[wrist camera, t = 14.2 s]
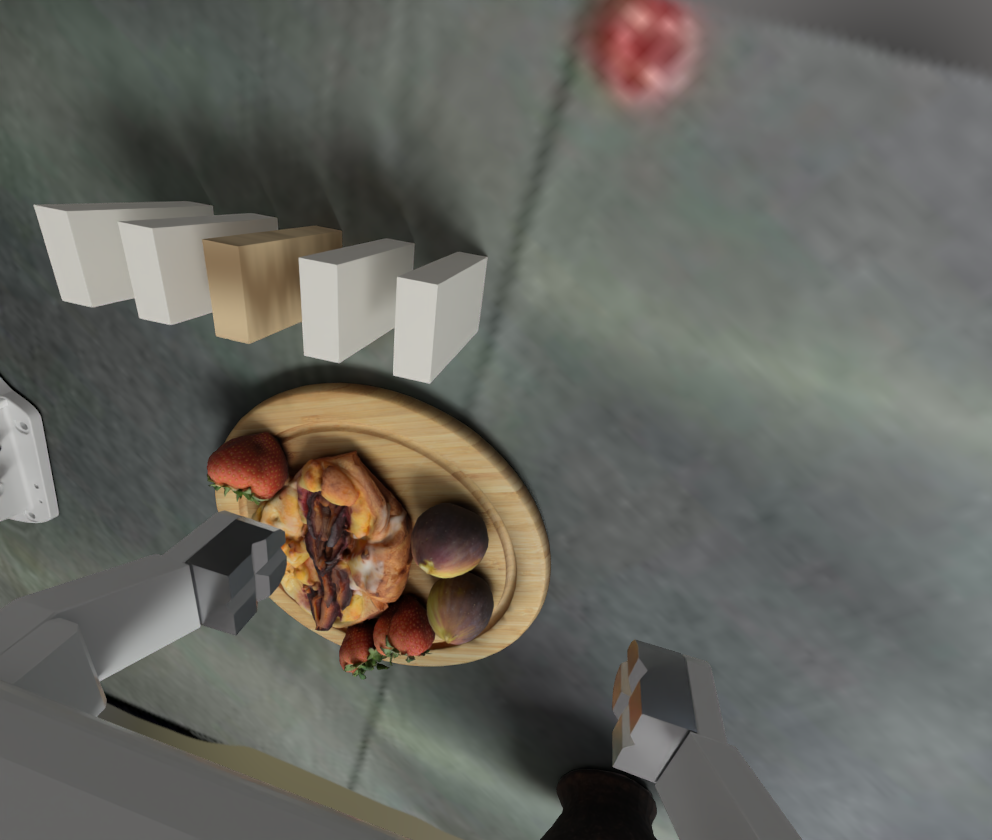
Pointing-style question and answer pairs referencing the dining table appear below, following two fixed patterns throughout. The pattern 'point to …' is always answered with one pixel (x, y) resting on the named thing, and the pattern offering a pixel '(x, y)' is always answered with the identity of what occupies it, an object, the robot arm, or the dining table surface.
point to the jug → (602, 808)
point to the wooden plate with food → (388, 524)
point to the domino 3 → (260, 279)
